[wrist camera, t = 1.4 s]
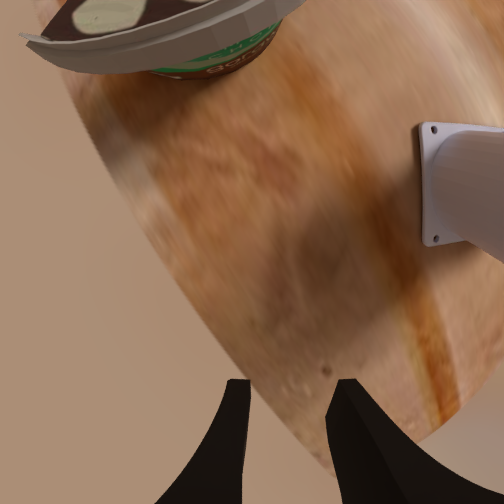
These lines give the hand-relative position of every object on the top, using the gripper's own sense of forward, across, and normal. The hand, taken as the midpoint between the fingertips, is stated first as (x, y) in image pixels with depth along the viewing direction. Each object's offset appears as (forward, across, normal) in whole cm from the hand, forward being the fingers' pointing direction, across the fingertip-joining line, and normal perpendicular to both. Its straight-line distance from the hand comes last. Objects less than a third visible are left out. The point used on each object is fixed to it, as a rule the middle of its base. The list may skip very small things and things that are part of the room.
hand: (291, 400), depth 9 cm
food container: (+10, +3, -14) cm, 18 cm away
